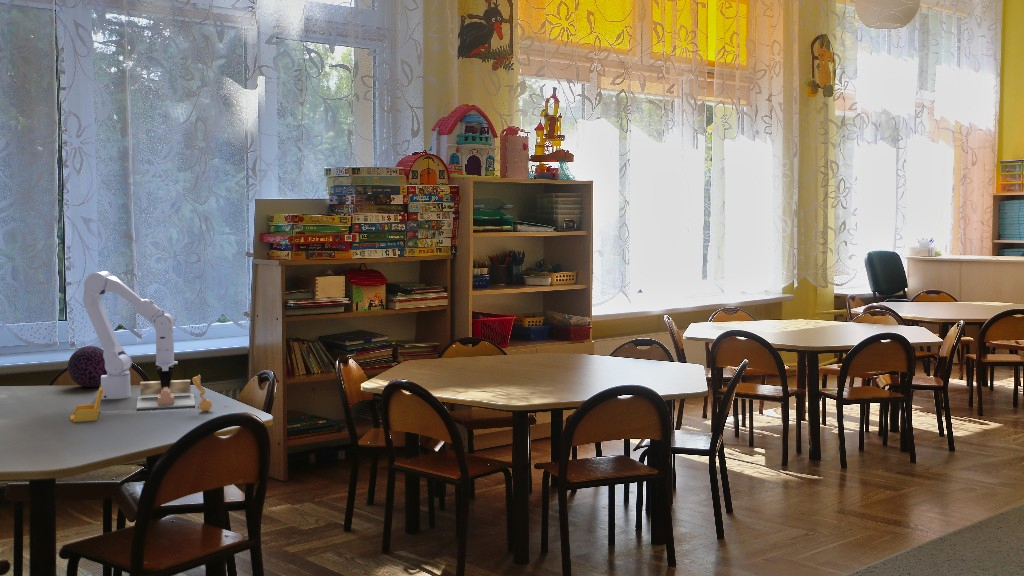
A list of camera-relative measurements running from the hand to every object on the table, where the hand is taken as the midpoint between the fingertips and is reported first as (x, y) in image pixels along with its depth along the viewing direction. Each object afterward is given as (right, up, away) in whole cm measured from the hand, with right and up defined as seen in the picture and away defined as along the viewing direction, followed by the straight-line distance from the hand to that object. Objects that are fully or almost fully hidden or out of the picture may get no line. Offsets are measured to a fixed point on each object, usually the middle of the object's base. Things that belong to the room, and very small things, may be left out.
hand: (165, 389), depth 346 cm
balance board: (+3, -4, -7) cm, 9 cm away
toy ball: (-36, -2, +25) cm, 44 cm away
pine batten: (0, -1, 0) cm, 1 cm away
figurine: (+19, -6, -20) cm, 28 cm away
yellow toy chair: (-14, -6, -30) cm, 34 cm away
